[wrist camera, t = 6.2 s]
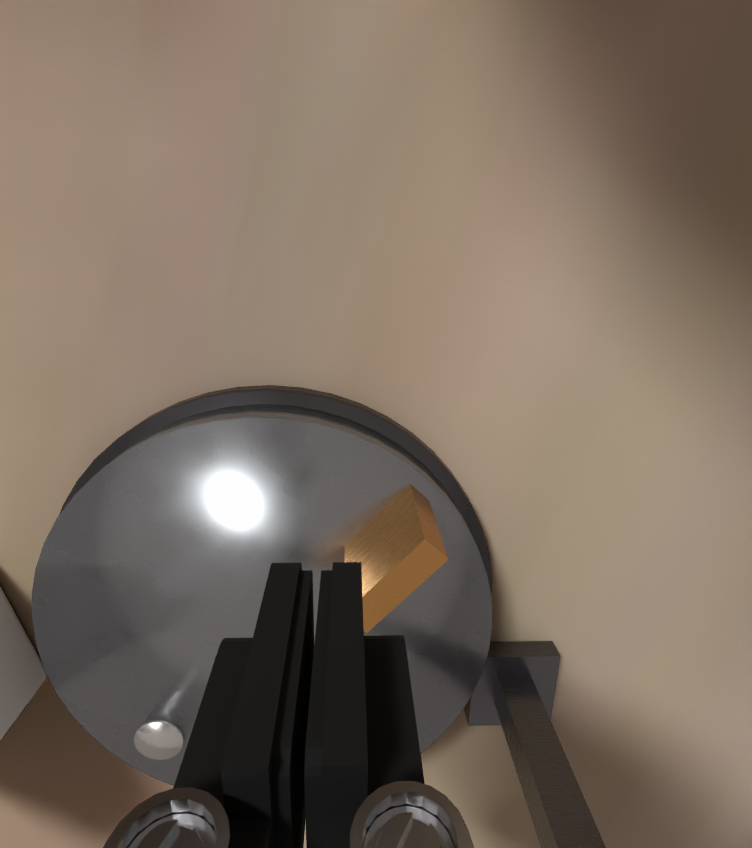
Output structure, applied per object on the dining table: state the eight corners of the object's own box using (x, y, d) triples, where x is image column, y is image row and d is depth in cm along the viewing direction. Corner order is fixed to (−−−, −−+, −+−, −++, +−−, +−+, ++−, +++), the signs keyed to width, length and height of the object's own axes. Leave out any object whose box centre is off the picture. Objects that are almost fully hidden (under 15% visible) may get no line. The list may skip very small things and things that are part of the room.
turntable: (294, 817, 26) (278, 971, 21) (-26, 617, 22) (-158, 741, 16) (564, 591, 23) (633, 700, 17) (248, 304, 19) (203, 323, 13)
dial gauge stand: (374, 643, 25) (390, 932, 14) (552, 641, 25) (699, 919, 14) (372, 710, 26) (386, 1022, 15) (542, 707, 26) (672, 1008, 16)
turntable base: (24, 382, 20) (7, 388, 19) (505, 387, 21) (512, 393, 20) (92, 755, 26) (82, 774, 25) (470, 746, 27) (474, 764, 26)
